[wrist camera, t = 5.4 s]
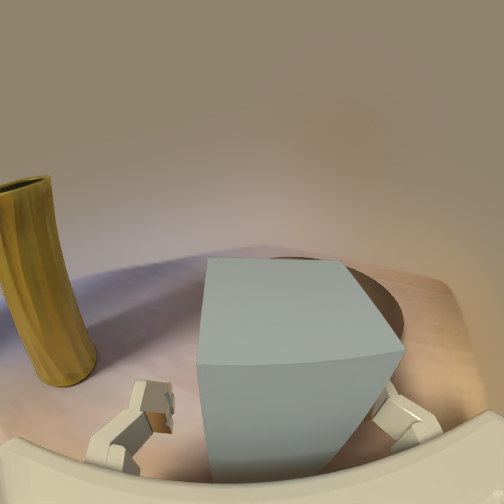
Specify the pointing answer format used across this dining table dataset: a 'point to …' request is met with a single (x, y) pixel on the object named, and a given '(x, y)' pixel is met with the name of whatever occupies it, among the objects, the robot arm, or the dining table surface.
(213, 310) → the gray block
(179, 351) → the dining table surface
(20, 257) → the vase
